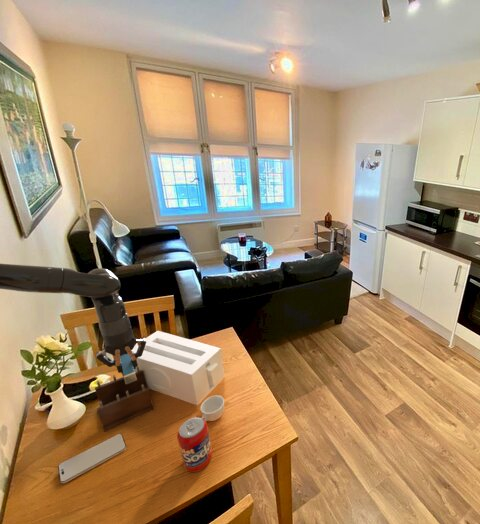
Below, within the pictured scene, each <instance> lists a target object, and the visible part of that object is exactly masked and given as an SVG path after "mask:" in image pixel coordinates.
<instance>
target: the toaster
mask: <svg viewBox="0 0 480 524" xmlns="http://www.w3.org/2000/svg"><path fill="white" fill-rule="evenodd" d="M144 338H145V340H146V345H145V348H144V351H143V354H142V356H141V357H138V358H137V359H136V360H137V364H138V366H137V367H139V370H140V371H141V370H143V372H144V376H145V380H146V384H147V387H148V389H149V390H151V391H154V392H158V393H161V394H163V395H166V396H169V397H171V398H175V399H178V400H182V401H184V402H186V403H189V404H192V405H196V406H199V405H200V404H201V403H202V402H203V401H204V399H206V398H207V397H208V395H209V394H210V393H211V392H212V391H214V389H215V388H216V387H217V386H218V385H219V384H220V383H221V382H222V380H224V379H225V378H226V375H225V368H224V367H225V366H224V361H223V353H222V347H218V346H214V345H211V344H207V343H204V342H201V341H200V342H199V341H196V340H194V339H190V338H185V337H182V336H179V335H175V334H171V333H168V332H164V331H161V330H156V331H155V332H153V333H151V334H150V335H149V336H147V337H144ZM137 349H138V343H136V345H135V346H134V348H133V352H134V353H136V352H137ZM137 367H136V369H134V372H135V373H136V372H138V371H137Z"/></svg>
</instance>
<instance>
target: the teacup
mask: <svg viewBox="0 0 480 524" xmlns="http://www.w3.org/2000/svg"><path fill="white" fill-rule="evenodd" d="M225 410H226V409H225V398H224V397H223V396H222V395H216V394H215V395H211V396H209V397H206V398H205V400H203V401H202V402H201V403H200V413H201V417H200V418H202V419H203V420H204V421H206V422H214V421H217V420H219V419H220V418H221V417H222V416H223V415H224V413H225Z"/></svg>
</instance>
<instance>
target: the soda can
mask: <svg viewBox="0 0 480 524" xmlns="http://www.w3.org/2000/svg"><path fill="white" fill-rule="evenodd" d="M177 442H178V446H179V450H180V454H181V459H182V463H183V467H184V469H185V471H187V472H190V473H195V472H196V473H197V472H200V471H201V470H203V469H204V468H206V467H207V466H208V465H209V464H210V462H211V460H212V458H213V448H212V442H211V437H210V431H209V426H208V423H207V421H204V418H203V419H202V418H201V417H199V416H194V417H191V418H188V419H186V420H185V421H184V422H183V423H182V424H181V425H180V427H179V429H178V431H177Z"/></svg>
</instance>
